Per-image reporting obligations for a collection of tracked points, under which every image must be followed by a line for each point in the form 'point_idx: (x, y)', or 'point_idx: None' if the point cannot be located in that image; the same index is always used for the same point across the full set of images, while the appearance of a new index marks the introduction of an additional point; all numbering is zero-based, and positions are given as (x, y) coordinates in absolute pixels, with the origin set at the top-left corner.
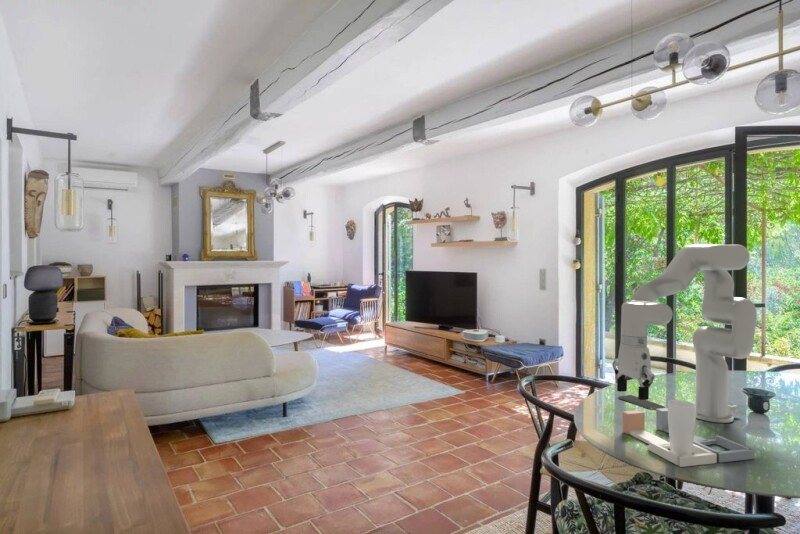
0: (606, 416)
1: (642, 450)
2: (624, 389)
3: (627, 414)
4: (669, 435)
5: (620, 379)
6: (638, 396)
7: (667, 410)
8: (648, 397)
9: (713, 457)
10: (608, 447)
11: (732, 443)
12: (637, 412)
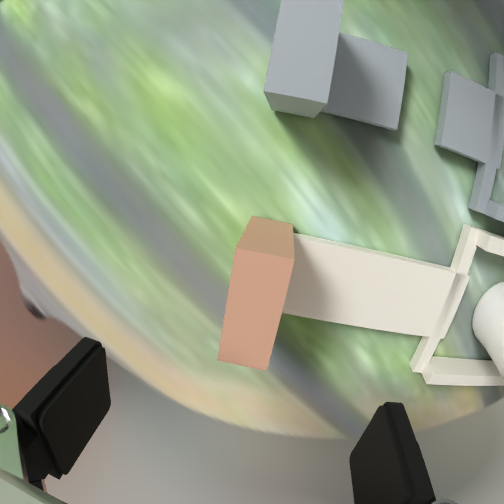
0: (57, 196)
1: (400, 377)
2: (99, 374)
3: (261, 366)
4: (502, 377)
5: (54, 465)
6: (356, 475)
7: (329, 51)
8: (405, 411)
9: None
10: (323, 436)
11: None
12: (269, 300)
